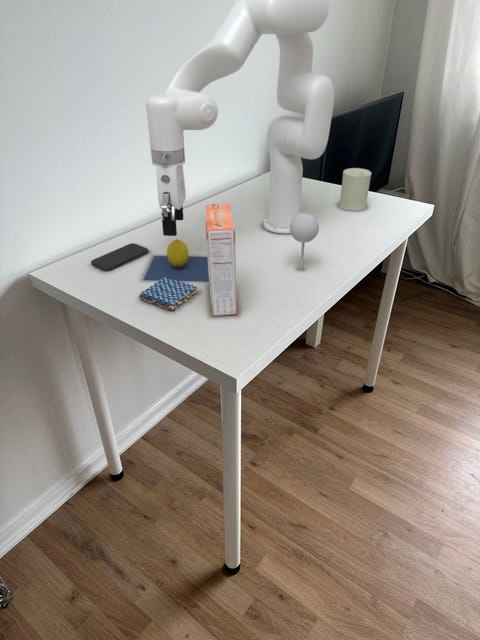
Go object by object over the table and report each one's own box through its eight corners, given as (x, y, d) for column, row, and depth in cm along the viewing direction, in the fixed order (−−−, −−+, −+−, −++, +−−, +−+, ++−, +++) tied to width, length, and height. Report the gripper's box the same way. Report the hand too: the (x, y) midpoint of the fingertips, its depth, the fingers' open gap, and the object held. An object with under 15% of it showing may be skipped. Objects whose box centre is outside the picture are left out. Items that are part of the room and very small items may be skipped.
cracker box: (208, 285, 111) (204, 203, 99) (233, 284, 112) (231, 202, 100) (210, 317, 100) (205, 229, 88) (237, 315, 100) (236, 227, 88)
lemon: (191, 263, 120) (189, 235, 116) (187, 273, 116) (185, 244, 111) (171, 262, 121) (168, 234, 116) (166, 272, 116) (163, 243, 112)
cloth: (219, 257, 123) (219, 257, 123) (214, 281, 113) (214, 280, 113) (154, 256, 124) (154, 255, 124) (143, 279, 114) (143, 279, 114)
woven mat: (200, 292, 108) (199, 285, 107) (172, 313, 101) (171, 305, 100) (166, 281, 113) (165, 273, 112) (137, 300, 106) (136, 293, 105)
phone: (150, 249, 126) (106, 269, 116) (150, 252, 126) (107, 272, 117) (132, 242, 130) (88, 261, 120) (132, 245, 130) (89, 264, 120)
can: (351, 213, 149) (356, 176, 142) (333, 204, 156) (337, 169, 149) (372, 207, 153) (378, 172, 146) (353, 199, 160) (358, 165, 153)
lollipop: (317, 264, 120) (322, 210, 111) (311, 277, 114) (317, 221, 105) (291, 261, 121) (294, 207, 113) (284, 273, 116) (287, 217, 107)
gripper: (177, 167, 95) (183, 242, 104) (190, 147, 109) (193, 214, 119) (142, 166, 95) (151, 241, 105) (159, 146, 109) (165, 214, 119)
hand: (173, 227), depth 112 cm, fingers open, 9 cm apart
